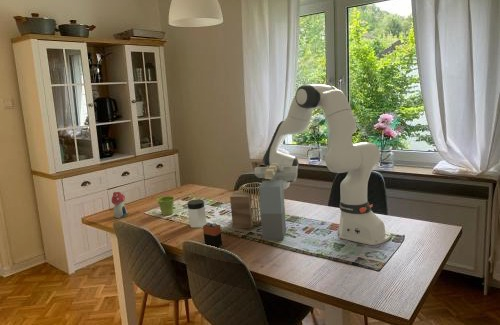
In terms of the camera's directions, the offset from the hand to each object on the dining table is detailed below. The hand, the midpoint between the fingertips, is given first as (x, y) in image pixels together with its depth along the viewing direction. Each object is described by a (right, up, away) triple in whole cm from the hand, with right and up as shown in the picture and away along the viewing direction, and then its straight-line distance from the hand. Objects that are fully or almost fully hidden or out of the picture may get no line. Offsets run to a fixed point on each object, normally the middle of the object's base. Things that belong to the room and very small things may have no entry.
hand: (273, 167), depth 175 cm
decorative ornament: (-82, -28, +40) cm, 96 cm away
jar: (-37, -29, +18) cm, 50 cm away
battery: (-26, -34, -7) cm, 44 cm away
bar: (-1, -3, -4) cm, 5 cm away
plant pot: (-56, -26, +39) cm, 73 cm away
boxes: (-7, -29, +6) cm, 31 cm away
